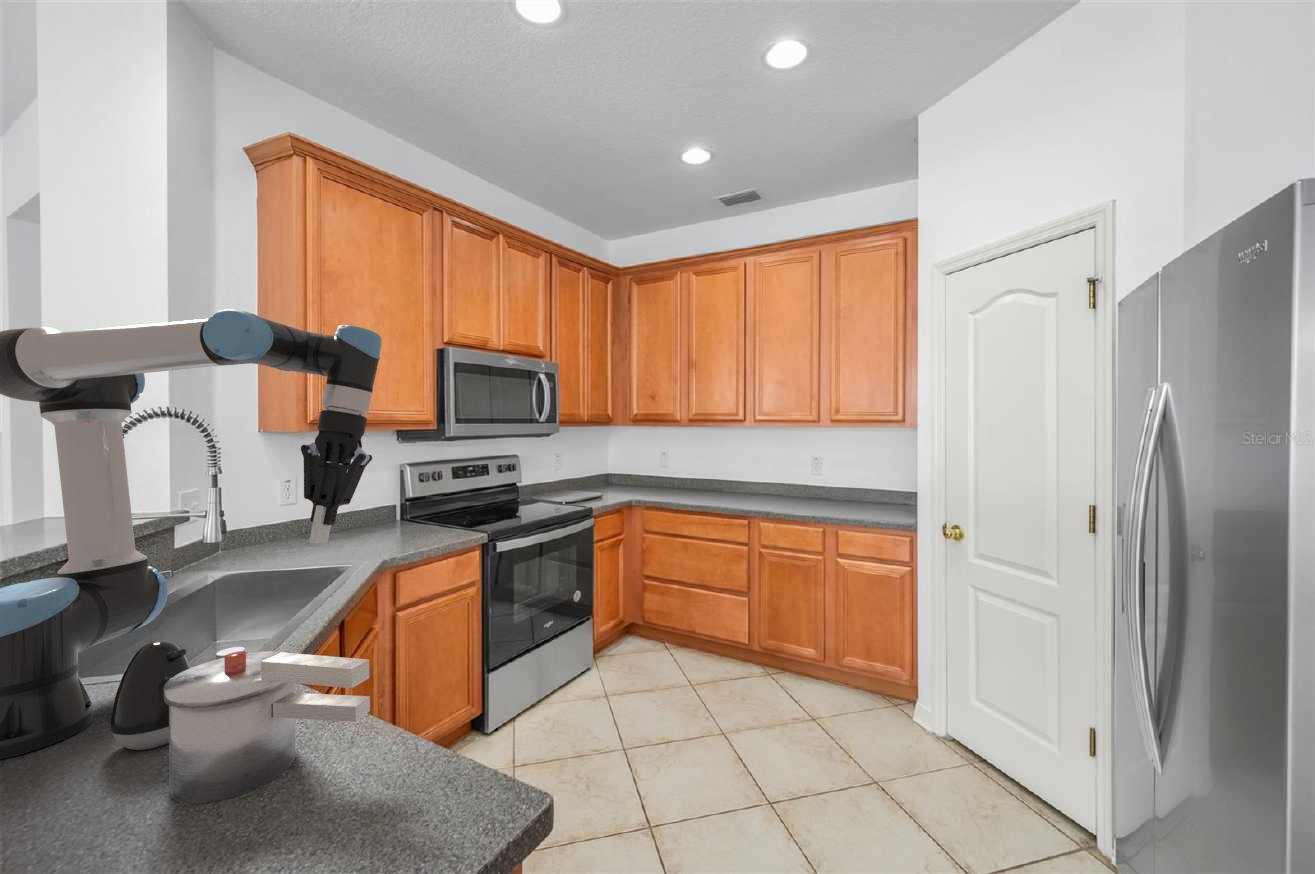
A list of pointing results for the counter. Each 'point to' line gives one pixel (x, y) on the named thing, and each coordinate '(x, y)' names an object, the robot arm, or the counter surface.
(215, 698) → the lid
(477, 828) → the counter surface
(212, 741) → the cooker pot
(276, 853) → the counter surface
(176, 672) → the pump dispenser
